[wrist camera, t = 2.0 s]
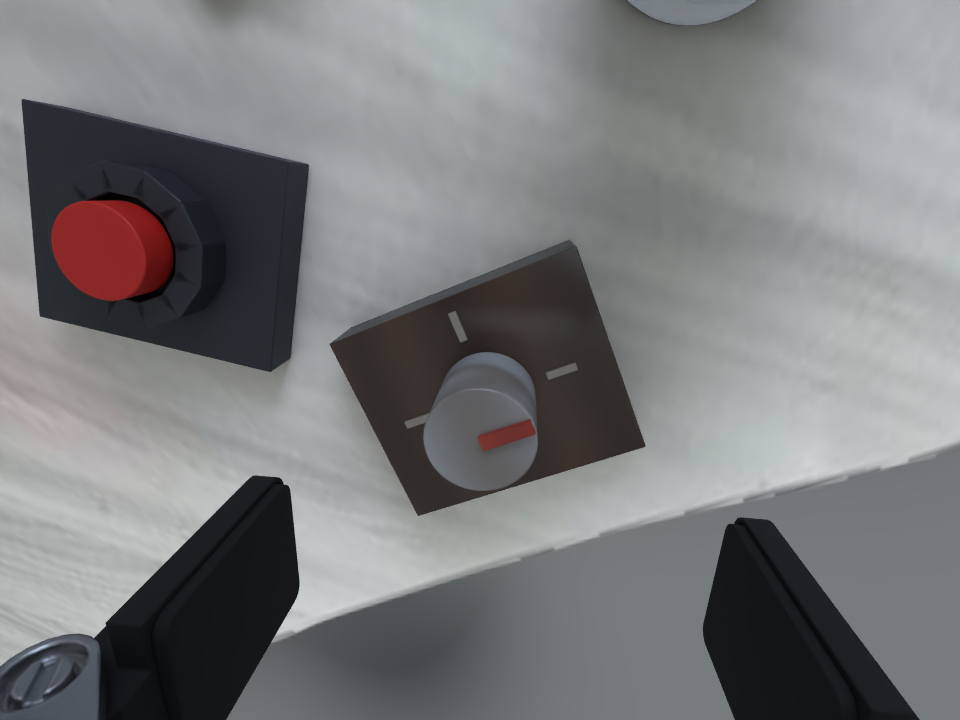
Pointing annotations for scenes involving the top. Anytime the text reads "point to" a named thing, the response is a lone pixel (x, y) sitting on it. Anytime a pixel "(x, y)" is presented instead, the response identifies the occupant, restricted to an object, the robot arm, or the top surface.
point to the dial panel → (505, 330)
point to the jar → (690, 10)
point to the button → (111, 249)
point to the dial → (483, 423)
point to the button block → (175, 232)
